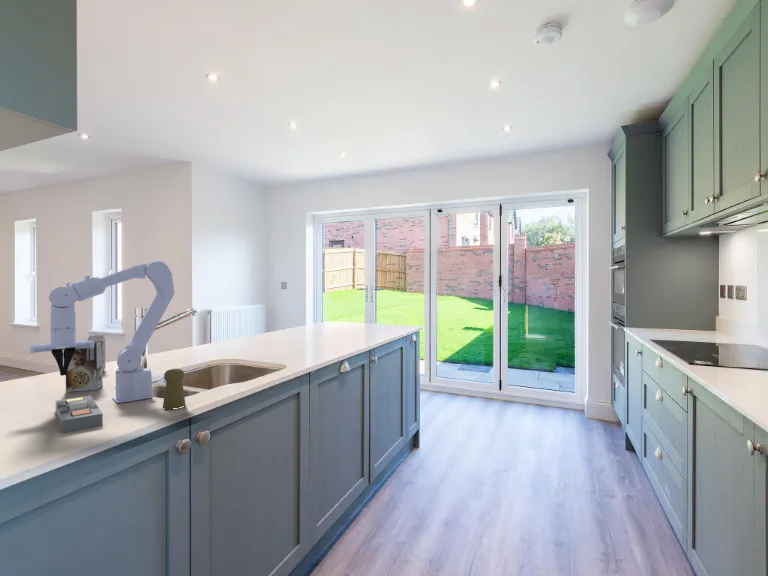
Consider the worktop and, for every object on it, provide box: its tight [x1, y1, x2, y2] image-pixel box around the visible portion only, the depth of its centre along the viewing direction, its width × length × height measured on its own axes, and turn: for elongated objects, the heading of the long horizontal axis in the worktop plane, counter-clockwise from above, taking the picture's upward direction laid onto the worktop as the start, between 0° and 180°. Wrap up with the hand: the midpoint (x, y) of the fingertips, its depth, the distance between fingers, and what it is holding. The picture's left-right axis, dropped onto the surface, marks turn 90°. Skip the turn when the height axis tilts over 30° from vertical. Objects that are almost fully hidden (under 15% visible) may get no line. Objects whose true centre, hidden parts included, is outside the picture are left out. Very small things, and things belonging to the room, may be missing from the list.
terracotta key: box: [71, 409, 91, 417], centre depth 103 cm, size 4×4×3 cm
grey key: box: [69, 399, 87, 410], centre depth 108 cm, size 4×4×3 cm
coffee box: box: [64, 340, 104, 393], centre depth 137 cm, size 9×6×16 cm
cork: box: [162, 368, 186, 409], centre depth 118 cm, size 6×6×11 cm
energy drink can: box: [86, 333, 106, 371], centre depth 164 cm, size 6×6×15 cm
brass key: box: [66, 397, 83, 404], centre depth 113 cm, size 4×4×3 cm
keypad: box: [55, 394, 104, 434], centre depth 108 cm, size 8×22×3 cm, turn 43°
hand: (63, 374), depth 117 cm, fingers closed
